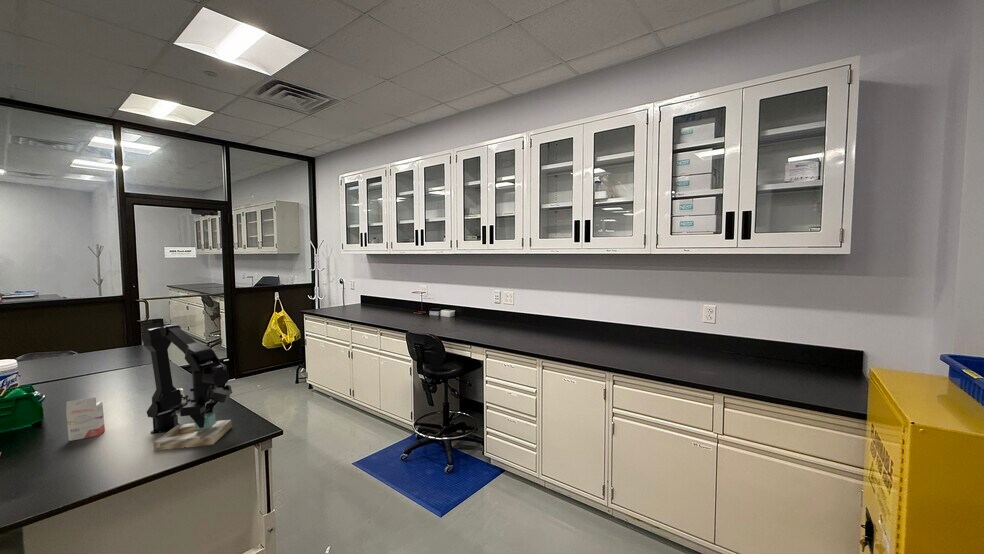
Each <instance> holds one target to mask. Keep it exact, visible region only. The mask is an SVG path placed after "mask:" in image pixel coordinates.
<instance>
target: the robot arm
mask: <svg viewBox="0 0 984 554" xmlns="http://www.w3.org/2000/svg"><path fill="white" fill-rule="evenodd" d="M140 335H141V336H140V337H141V338H140V339H141V341H142V343H143V347H145V348H146V349H147V350H148V351H149V352H150V355H151V362H152V363H151V364H152V369H153V375H154V376H153V377H154V384H155V391H154V392H153V394H152V396H151V404H150V405H149V407H148V409H147V410H146V414H147V417H148V418H151V419H152V428H153V429H152V430H151V431H150V434H157V433H167V432H168V431H170V430H171V429H173V428H174V427H175V426H177V425H180V423H179V417H178V414H177V412H178V411H179V416H180V417H187V416H188V417H190V418H191V419H192V420H193V421H194V423H195V422H196V424H197V425H198V426H199V428H203V427H204V420H205V413H214V410H215V407H216V406H217V404H219V403H222V404H223V403H226V402H227V401H228V400H229V399H230V397H231V395H232V394H233V390H232V386H231V384H227V383H228V382H229V380H230V376H231V375H230V373H229V371H228V370H227V369H224V366H223V365H222V363H221V360H220V358H219V357H218V356H217V355H216V353H215V351H214V350H213V349H212V348H211V347H210V346H208V345H206V344H202V343H198V342H197V341H195V340H194V339H193V338H192V337H191V336H190V335H188V334H187V333H186V332H185V330H183V329H182V328H181V326H180V325H179V324H176V323H174V324H169V325H163V326H160V327H152V328H147V329H146V328H145V330H144V331H143V332H142V333H141V334H140ZM171 343H172V344H173V345H175V347H176V348H177V349H179V350H180V351H181V352H182V353H183V354H184V360H185V361H186V362H187V364H188V365H189V366H190V367H189V368H188V369H187V370H188V372H191V379H192V381H191V382H192V387H190V388H189V390H190V392H192V393H193V394H192V395H193V398H191V401H190V403H187V404H188V405H186V406H184V407H183V408H182V409H180V408H181V403H182V397H181V391H180V390H179V389H180V388H177V387H175V386H174V383H173V378H172V377H173V376H172V371H171V369H172V368H171V364H170V363H171V362H170V356H169V348H170V346H171ZM222 386H223V387H222ZM177 389H178V390H177Z"/></svg>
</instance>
